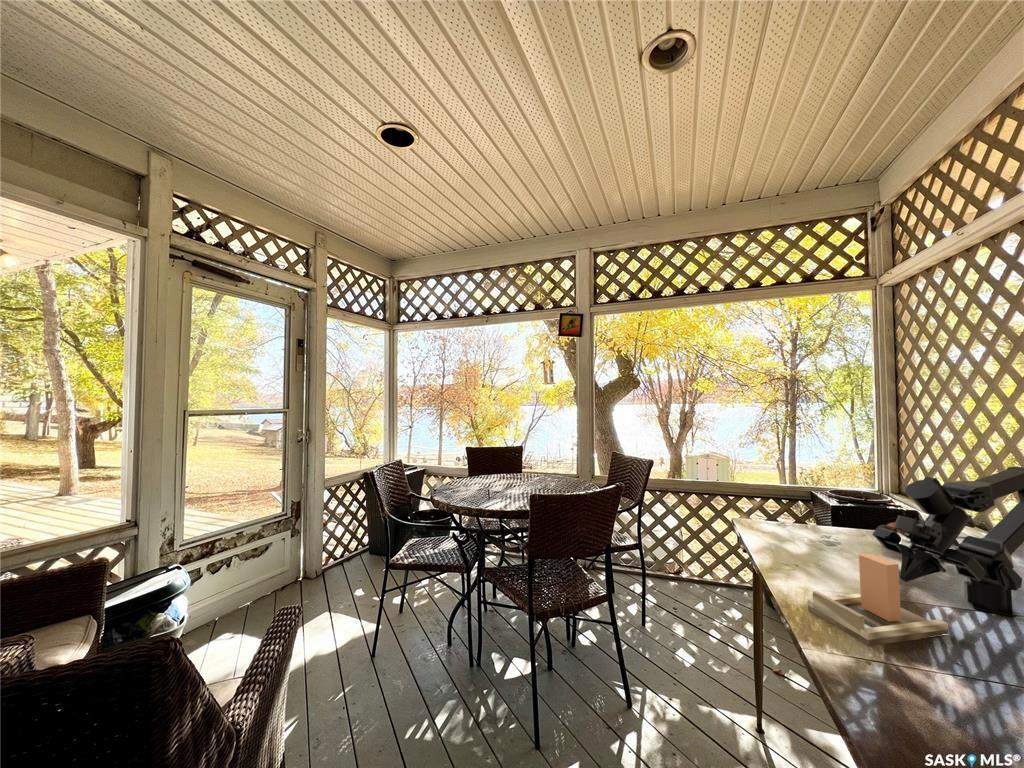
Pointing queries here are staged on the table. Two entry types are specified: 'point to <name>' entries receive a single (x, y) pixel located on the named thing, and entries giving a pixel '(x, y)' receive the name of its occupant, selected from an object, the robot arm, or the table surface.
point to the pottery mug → (891, 528)
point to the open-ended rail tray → (872, 620)
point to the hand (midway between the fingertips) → (902, 580)
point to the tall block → (880, 587)
